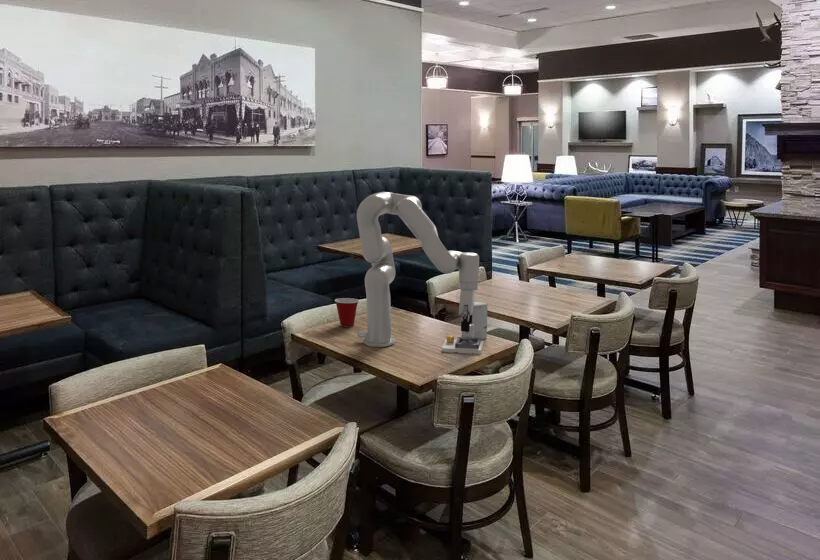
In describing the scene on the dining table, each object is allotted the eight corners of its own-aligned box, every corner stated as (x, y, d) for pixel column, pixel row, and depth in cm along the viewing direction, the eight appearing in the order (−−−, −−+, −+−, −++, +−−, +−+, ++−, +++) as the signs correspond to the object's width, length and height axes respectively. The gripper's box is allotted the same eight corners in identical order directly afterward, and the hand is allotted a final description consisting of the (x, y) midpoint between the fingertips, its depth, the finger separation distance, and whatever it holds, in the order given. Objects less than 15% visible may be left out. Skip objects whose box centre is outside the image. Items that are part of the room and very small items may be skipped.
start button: (445, 342, 248) (445, 337, 248) (447, 340, 251) (447, 335, 251) (453, 342, 248) (453, 337, 247) (454, 340, 251) (454, 335, 250)
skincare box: (470, 341, 255) (470, 305, 252) (462, 337, 260) (462, 302, 257) (487, 338, 259) (488, 303, 256) (479, 334, 264) (479, 300, 261)
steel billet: (460, 346, 244) (461, 326, 242) (462, 342, 249) (462, 322, 247) (473, 346, 243) (474, 327, 242) (474, 343, 248) (475, 323, 246)
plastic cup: (364, 324, 281) (364, 298, 278) (349, 330, 272) (349, 303, 269) (345, 320, 287) (344, 295, 284) (330, 326, 278) (329, 300, 275)
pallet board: (441, 351, 243) (441, 344, 242) (446, 342, 254) (446, 335, 253) (480, 354, 240) (480, 346, 239) (483, 344, 251) (483, 337, 251)
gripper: (461, 279, 250) (459, 321, 254) (455, 289, 234) (454, 333, 237) (480, 280, 249) (478, 322, 252) (475, 290, 232) (473, 334, 236)
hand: (466, 327), depth 245 cm, fingers open, 9 cm apart
